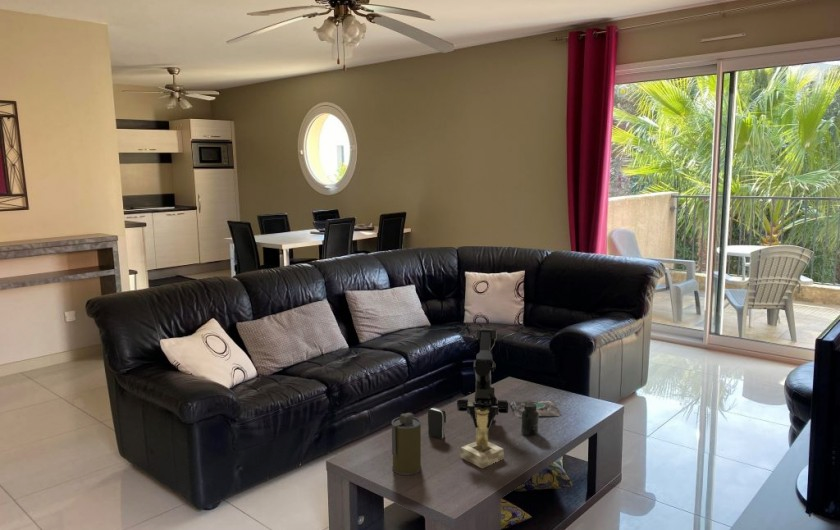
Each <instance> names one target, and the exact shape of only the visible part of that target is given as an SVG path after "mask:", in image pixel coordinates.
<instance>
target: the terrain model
mask: <svg viewBox="0 0 840 530" xmlns="http://www.w3.org/2000/svg"><path fill="white" fill-rule="evenodd" d="M525 403H534V404H536V406H537V407H536V408H537V410H536V411H537V412H538V413H539V418H559V417H562V418H563V416H562V413H561V412H560V410H559V408H558V407H557V404H556V403H555V401H554V400H542V401H541V400H539V401H538V400H537V401H533V400H519V401H518V400H517V401H513V402H512V401H511V402H508V406H510V409H511V411H512V412H513V414H514V417H515V416H518V417H520V418H519V419H521V416H522V411H523V410H524V404H525ZM560 415H561V416H560Z"/></svg>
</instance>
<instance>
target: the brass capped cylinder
mask: <svg viewBox="0 0 840 530" xmlns="http://www.w3.org/2000/svg"><path fill="white" fill-rule="evenodd" d="M489 413H490V410H489V409H488V408H486V407H478V408H476V409H475V417H476V428H475V442H476V444H477V445H478V446H487V445H488V442H489V429H488V414H489Z"/></svg>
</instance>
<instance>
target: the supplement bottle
mask: <svg viewBox="0 0 840 530" xmlns="http://www.w3.org/2000/svg"><path fill="white" fill-rule="evenodd" d="M536 407H537V406H536V404H534V403H525V404H524V410H523V411H522V416H521V418H520V419H521V420H520V421H521V424H520V426H521V427H520V433H521V434H522V435H523V436H526V437H535V436H537V435H539V421H540V419H539V418H540V417H539V413H538V412H537V411H536V410H537V408H536Z"/></svg>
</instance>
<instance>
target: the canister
mask: <svg viewBox="0 0 840 530" xmlns="http://www.w3.org/2000/svg"><path fill="white" fill-rule="evenodd" d="M421 426H422V420H421V419H419V417H415V414H414V413H412V412H406V413H401V414H400V416H398V417H396V418H394V419H392V420H391V452H392V453H391V454H392V467H391V468H392V469H391V470H392V471H393V472H394V473H395V474H398V475H402V476H411V475H415V474H418V473H420V471H421V470H422V464H421V463H422V459H421V457H422V452H421V450H422V449H421V446H422V445H421V444H422V443H421V441H422V439H421V438H422V437H421V436H422V435H421V431H422V430H421V428H422V427H421Z"/></svg>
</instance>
